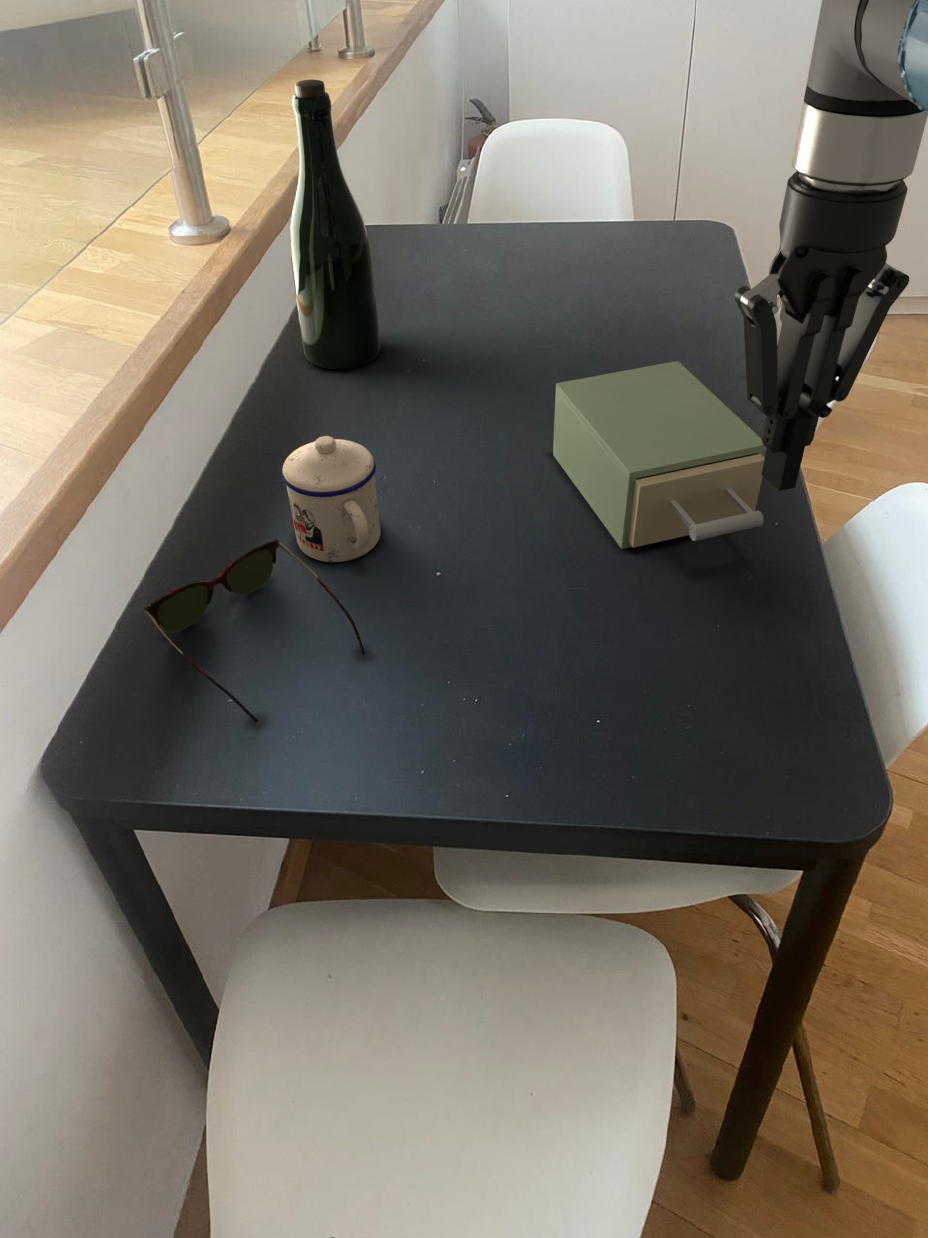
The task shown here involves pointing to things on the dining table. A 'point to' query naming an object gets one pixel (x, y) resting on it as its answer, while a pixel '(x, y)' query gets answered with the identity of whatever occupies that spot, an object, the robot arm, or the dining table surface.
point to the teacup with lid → (333, 499)
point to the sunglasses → (238, 578)
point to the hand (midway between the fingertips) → (778, 480)
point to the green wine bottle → (329, 245)
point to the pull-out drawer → (697, 501)
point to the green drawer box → (640, 434)
